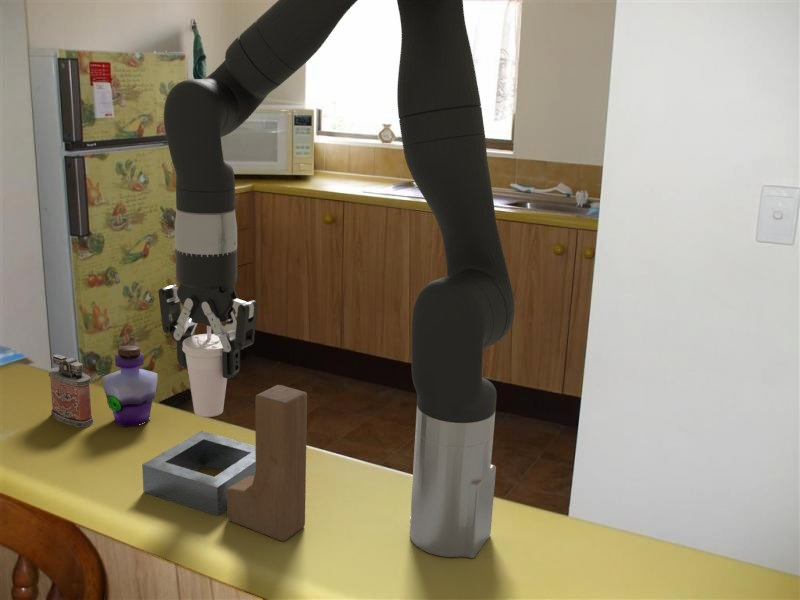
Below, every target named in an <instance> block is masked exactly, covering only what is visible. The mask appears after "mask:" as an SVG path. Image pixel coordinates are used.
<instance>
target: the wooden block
mask: <svg viewBox="0 0 800 600" xmlns="http://www.w3.org/2000/svg"><path fill="white" fill-rule="evenodd" d="M254 399H255V402H254V403H255V446H256V472H255V476H248V477H246V478H244V479H243V480H241V481H239V482H238V483H236V484H234V485H233V486H231V487H229V488H228V489H227V510H226V516H227V520H228V521H229V522H231V523H235V524H238V525H240V526H242V527H245V528H247V529H250V530H253V531H254V532H257V533H260V534H263V535H264V536H268V537H270V538H273V539H275V540H278V541H280V542H286V541H287V540H288V539H291V537H292V536H293V535H295V534H296V533H298V532H299V531H300V530H302V529H303V528H304V527H305V525H306V492H307V491H306V488H307V487H306V484H307V483H306V482H307V481H306V478H307V477H306V475H307V427H308V426H307V422H308V420H307V419H308V418H307V417H308V393H307V392H306V391H302V390H300V389H295V388H293V387H289V386H285V385H281V384H276V385H274V386H272V387H271V388H268V389H266V390H264V391H262V392H260V393H258V394H256V396H255V398H254Z"/></svg>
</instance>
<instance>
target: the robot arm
mask: <svg viewBox="0 0 800 600" xmlns="http://www.w3.org/2000/svg"><path fill="white" fill-rule="evenodd" d="M357 1H359V0H277V1H276V2H275V3H274V4H272V6H270V8H268V9H267V10H266V11H265V12H264V13H262V15H261V16H259V17H258V18H257V19H256V20H255V21H254V22H253V23H252V24H251V25H249V26H248V27H247V28H246V29H245V30H244V31H243V32H241V34H240V35H238V36H237V37H236V38H235V39H234V40H233V41H232V43H231V44H230V45H229V46H228V48H227V49H226V51H225V57H224V59H225V60H224V61H223V62H222V63H221V64H220V65H219V66H217V68H216V69H215V70H214V71H212V72H211V73H210V74H209V75H208V76H206V77H204V78H200V79H199V78H193V79H191V78H190V79H184V80H182V81H180V82H178V83H177V84H175V85H173V87H172V88H171V89H170V90H169V92H168V94H167V96H166V99H165V103H164V109H163V127H164V133H165V137H166V141H167V145H168V150H169V153H170V154H169V155H170V158H171V162H172V165H173V168H174V171H175V172H174V173H175V201H176V202H175V207H176V213H175V222H174V251H175V252H174V253H175V254H174V255H175V256H174V257H175V279H176V282H177V283H178V285H177V284H170V285H166V286H164V287H161V288H159V289H158V299H159V308H160V318H161V324H162V325H161V326H162V331H163V332H164V333H165V334H168V333H170V334H171V335H172V336H173V339H175V340H176V360H177V362H178V364H179V367H180V368H183V369H188V368H187V362H186V354H185V353H184V352H183V350H182V348H183V341H184V340H185V339H186V338H188V337H191V336H193V335H194V332H195V330H196V328H197V326H198V324H204V325H206V327H207V326H211V330H212V331H213V334H215V335H216V336H218V337H219V339H220V342H221V344H222V346H223V349H224V351H222V365H223V377H224V378H227V380H229V379H232V378H234V377H235V376H237V374H238V373H239V372H240V370H241V350H244V349H245V348H248V347H249V346H252V345H253V344H254V342H255V335H256V327H257V326H256V323H257V314H258V306H259V305H258V302H257V301H256V300H254V299H251V300H249V301H245V300H242V299H240V298H239V297H238V295H237V293H236V290H235V289H236V288H235V287H236V283H237V280H238V225H237V217H236V181H235V180H236V178H235V171H234V168H233V166H232V165H231V164H229V163H228V162H227V161H225V160H224V154H223V153H224V151H223V144H222V137H225V136H227V135H229V134H231V133H232V132H234V131H235V130H237V128H239V127H240V126H241V125H242V124H244V123H245V122H246V121H247V120H248V119H249V117H251V116H252V115H253V114H254V112H255V111H256V110H257V109H258V108H259V106H261V104H262V103H263V102H264V100H265V99H266V98H267V96H269V94H270V93H272V91H274V90H276V89H277V88H278V87H279V86H281V85H282V84H283V83H285V81H286V80H288V79H289V78H290V77H291V76H292V75H294V74H295V73H296V72H298V70H299V69H300V68H302V67H303V66H304V65H305V64H306V63H308V61H309V60H310V59H311V58H312V57H313V56H314V55H315V54H316V53H317V52H318V51H319V50H320V49H321V47H322V46H323V45H324V43H325V42H326V41H327V39H328V38H329V36H331V33H333V31H334V30H335V28H336V27H337V26H338V24H339V22H340V21H341V20H342V19H343V17H344V15H345V14H346V13H347V12H348V11H349V10H350V9H351V8H352V7H353V6H354V4H356V3H357ZM396 3H397V8H398V12H399V20H400V29H401V30H400V31H401V40H400V41H401V42H400V43H401V44H400V54H399V55H400V56H399V65H398V73H397V77H398V78H397V86H396V89H397V90H396V92H397V94H396V95H397V96H396V97H397V114H398V119H399V120H398V122H399V123H398V124H399V127H400V128H399V129H400V135H401V143H402V148H403V149H402V150H403V155H404V159H405V162H406V165H407V168H408V171H409V173H410V174H411V177H412V179H413V181H414V183H415V184H416V186H417V188H418V190H419V191H420V193H421V195H422V196H423V199H424V200H425V201H426V204H427V205H428V206H429V209H430V210H431V212H432V213H433V215H434V218H435V220H436V222H437V225H438V227H439V230H440V234H441V238H442V242H443V243H442V244H443V249H444V257H445V264H446V265H445V266H446V276H443V277H442V278H438V279H435V280H433V281H431V282H429V283H428V284H426V285H424V286H423V288H422V289H421V290H420V292H419V293H418V295H417V297H416V299H415V302H414V304H413V305H414V306H413V309H412V310H413V311H412V318H411V380H412V383H413V386H414V389H415V393H416V397H417V399H416V419H415V432H414V452H413V454H414V455H413V465H412V466H413V471H412V484H411V485H412V487H411V505H410V518H409V523H410V525H409V537H410V540H411V542H412V543H413V544H414V545H415V546H416V547H418V548H419V549H421V550H422V551H424V552H427V553H428V554H431V555H435V556H440V557H445V558H446V557H449V558H455V557H466V558H470V559H474V558H475V557H476V556H477V554H478V553H479V551H480V550H481V549H482V547H483V546H484V545H485V543H486V541H487V540H488V539H489V538H490V536H491V533H492V521H493V520H492V519H493V509H494V508H493V507H494V497H495V485H496V473H497V472H496V471H497V467H496V465H495V464H492V456H493V455H492V454H493V444H494V433H495V431H494V430H495V418H496V411H497V410H496V409H497V398H498V397H497V389H496V387H495V385H494V384H493V383H492V382H491V381H490V380H488V379H487V378H485V377H483V352H484V349H487V348H488V347H490V346H492V345H495V344H496V343H498V342H500V341H501V340H502V339H504V337H506V335H507V334H508V333H509V332H510V330H511V328H512V325H513V322H514V318H515V300H514V299H515V298H514V293H513V288H512V283H511V279H510V276H509V271H508V267H507V262H506V259H505V255H504V250H503V246H502V241H501V237H500V233H499V227H498V224H497V219H496V218H497V217H496V209H495V203H494V195H493V189H492V188H493V187H492V182H491V181H492V180H491V174H490V169H489V162H488V161H489V160H488V154H487V152H488V151H487V142H486V141H487V139H486V132H485V126H484V117H483V109H482V101H481V97H480V91H479V86H478V79H477V75H476V70H475V64H474V59H473V58H474V57H473V54H472V53H473V52H472V48H471V44H470V38H469V35H468V30H467V26H466V20H465V11H464V0H396ZM181 305H182V310H181ZM233 311H234V312H235V313H234V312H233ZM224 323H226V325H223V324H224ZM230 339H231V340H230Z"/></svg>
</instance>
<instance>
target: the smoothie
mask: <svg viewBox="0 0 800 600" xmlns="http://www.w3.org/2000/svg"><path fill="white" fill-rule="evenodd" d="M230 340H231V339H230ZM182 350H183V352H184V353H185V354H186V362H187V368H186V369H187V373H188V380H189V387H190V392H191V393H190V394H191V400H192V407H193V412H194V414H195V415H196V416H199V417H203V418H209V417H210V418H212V417H216V416H219V415H221V414H222V413H223V412H224V405H225V398H226V389H227V384H228V383H227V381H228V379H227V378H224V377H223V365H222V351H224V349H223V346H222V344H221V342H220V339H219V337H218V336H216V335H215V334H214V333H212V327H211V326H207V325H206V333H202V334H195V335H194V334H193V335H191V337H188V338H186V339H185V340H184V341H183V348H182Z"/></svg>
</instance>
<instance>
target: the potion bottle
mask: <svg viewBox="0 0 800 600" xmlns="http://www.w3.org/2000/svg"><path fill="white" fill-rule="evenodd" d="M114 364H115V367H118V368H120V370H117V371H114V372H111V373H109V374H106V375H104V376H103V377H102V378H103V379H102V387H103V390H104V393H105V397H106V402H107V406H108V408H109V409H110V410H111V412H112V414H113V418H114V425H117V426H120V427H123V428H132V427H134V428H135V427H141V426H143V425H144V424H142V423H144V422H147V423H149V422H148V421H150V422H151V419H150V420H149V417H150V418H151V411H152V410H151V409H152V405H153V400H154V399H155V395H156V390H157V386H158V373H157V372H154V371H150V370H146V369H143V368H140V367H141V366H143V365H144V364H145V363H144V353H143V352H141V347H140V346H138V345H130V344H129V345H122V346H119V347H118V349H117V353H116V354H115V359H114ZM139 424H142V425H140V426H139Z"/></svg>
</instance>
